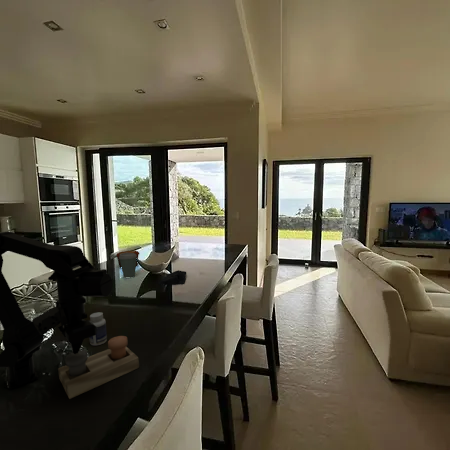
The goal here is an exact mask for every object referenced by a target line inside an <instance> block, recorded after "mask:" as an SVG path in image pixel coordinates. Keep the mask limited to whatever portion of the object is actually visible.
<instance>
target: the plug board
mask: <svg viewBox="0 0 450 450" xmlns="http://www.w3.org/2000/svg"><path fill="white" fill-rule="evenodd" d="M139 368H140V363H139V357H138V355H136V354H135V353H134V352H133V351H132V350H130V348H129V347H127V346H126V355H125V356H124V357H123V358H120V359H112V357H111V350H110V349H109V348H107V349H105V350H103V351H100V352H97V353H95V354H93V355H90V356H88V359H87V361H86V371H85V372H84V373H83V374H81V375H79V376H75V377H72V376H70V375H69V366H66V364H65V365H63V366H61V367H58V368H57V370H58V379H59V381H60V383H61V385H62V387H63V389H64V391H65V393H66V395H67V397H68V399H69V400H71V399H73V398H75V397H77V396H79V395H82V394H83V393H84V394H85V393H86V392H88V391H91V390H93V389H94V388H95V389H96V388H98V387H99V386H102V385H104V384H106V383H108V382H111V381H112V380H114V379H117V378H119V377H121V376H124V375H126V374H128V373H130V372H133V371H134V370H137V369H139Z"/></svg>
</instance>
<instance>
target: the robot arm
mask: <svg viewBox="0 0 450 450" xmlns="http://www.w3.org/2000/svg"><path fill="white" fill-rule="evenodd" d="M7 252H10V253H14V254H17V255H21V256H24V257H27V258H30V259H33V260H37V261H39V262H41V263H43V265H44V266H45V268H48V269H50V271H51V270H52V271H53V273H52V274H50V276H49V277H48V278H47V280H48V281H56V288H57V289H56V290H57V298H58V299H57V300H56V301H55V306H54V307H52V308H50V309H48V310H46V311H45V312H43V313H40V314H39V315H37V316H36V317H34V318H33V319H32V320H30V319H28V318H26V317H25V315H24V312H23V310H22V309H21V307H20V304H19V303H18V301H17V298H16V296H15V295H14V293H13V291H12V289H11V287H10V285H9V283H8V281H7V280H6V278H5V275H4V274H3V271H2V270H3V266H4V265H3V264H4V258H3V255H4V254H6V253H7ZM113 284H114V283H113V279H112V277H111V275H110V274H109V273H108V270H107V269H106V268H105V269H95V267H94V266H93V264H92V263H91V262H90V261H89V260H88V258H87V257H86V256H85V254H84V252H83V249H82V248H80V246H77V245H76V246H75V245H67V244H65V245H64V244H50V243H45V242H44V241H40V240H37V239H33V238H29V237H26V236H23V235H20V234H16V233H14V232H13V231H2V232H1V231H0V324H1V325H2V329H3V333H2V339H1V343H2V346H3V350H2V351H1V353H0V367H2V368H4V367H5V368H7V375H8V376H6V382H7V389H8V390H12V389H15V388H17V387H20V386H23V385H25V384H28V383H31V382H33V381H36V380H38V379H39V376H38V373H37V370H36V367H35V364H34V353H36V352H37V351H39V350H40V349H41V345H42V344H43V342H44V339H45V336H44V335H45V334H47V333H48V332H49V331H51V330H52V329H54V328H56V327H57V329H58V330H59V331H60V333H61V334H62V336H63V337H64V338H65V339H66V341H67V342H68V344H69V345H70V348H71V351H72V352H73V353H74V354H76V353H78V352H79V350H81V346H82V345H83V341H84V339H88V338H89V337H91V336H94V335H96V334H97V330H96V326H95V325H94V324H93V323H92V322H90V321H91V320H90V319H87V318H88V314H87V312H86V311H85V304H86V303H87V299H86V298H85V297H88V298H89V297H90V298H92V297H94V298H95V297H96V298H99V297H100V298H103V297H104V298H106V297H109V295H110V294H111V293H112V291H113V286H114V285H113ZM85 319H86V320H85ZM59 325H60V326H59Z"/></svg>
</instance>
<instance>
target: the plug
mask: <svg viewBox="0 0 450 450" xmlns="http://www.w3.org/2000/svg"><path fill="white" fill-rule="evenodd" d="M64 357H65V358H64V362H65V365H66V366H69V375H70V376H72V377H75V376H79V375H81V374H83V373H84V372H85V371H86V361H87V359H88V357H89V356H88V351H87V350H85V349H80V350H79V352H78V353H76V354H74V353H73V351H72V352H70V353H68V354H67V355H65V356H64Z"/></svg>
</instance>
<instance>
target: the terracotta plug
mask: <svg viewBox="0 0 450 450" xmlns="http://www.w3.org/2000/svg"><path fill="white" fill-rule="evenodd" d="M127 346H128V337H127V336H125V335H118V336H114V337H111V338H110V339H109V340H108V341H107V347H108V349H110V350H111V357H112V359H120V358H123V357H124V356H125V355H126V347H127Z"/></svg>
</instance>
